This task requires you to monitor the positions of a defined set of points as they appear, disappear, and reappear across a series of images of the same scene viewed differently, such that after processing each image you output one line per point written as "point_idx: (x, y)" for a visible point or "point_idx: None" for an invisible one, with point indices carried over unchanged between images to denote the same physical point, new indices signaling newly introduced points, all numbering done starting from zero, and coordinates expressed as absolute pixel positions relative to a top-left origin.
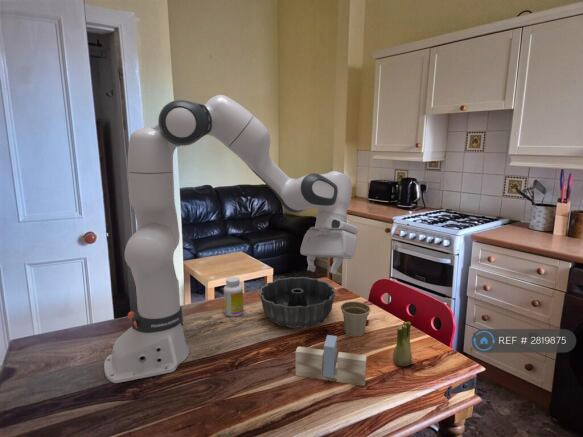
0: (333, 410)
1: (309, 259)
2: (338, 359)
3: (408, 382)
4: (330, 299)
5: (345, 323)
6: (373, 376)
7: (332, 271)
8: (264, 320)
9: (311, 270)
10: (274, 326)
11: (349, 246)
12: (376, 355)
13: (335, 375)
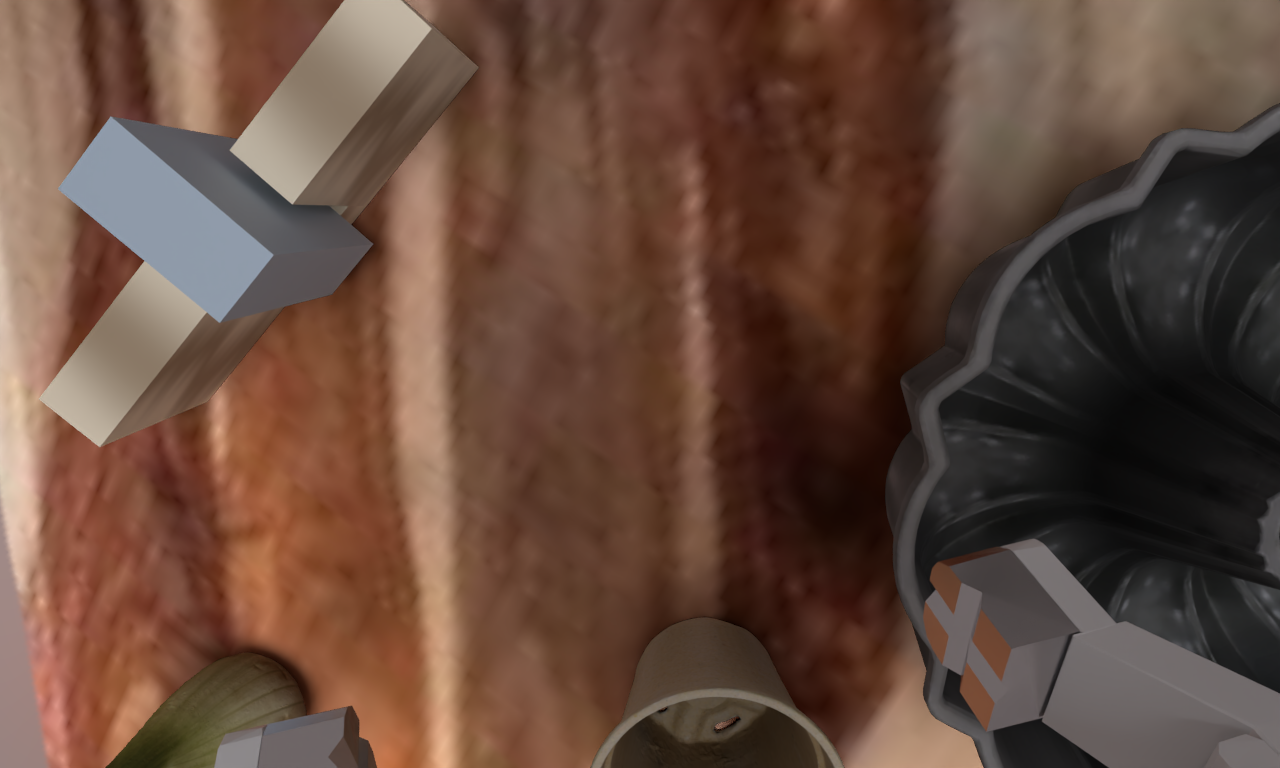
0: (36, 62)
1: (1235, 744)
2: None
3: (97, 600)
4: (929, 702)
5: (717, 650)
6: (220, 466)
7: (219, 760)
8: None
9: (936, 578)
10: None
11: None
12: (398, 622)
13: None
